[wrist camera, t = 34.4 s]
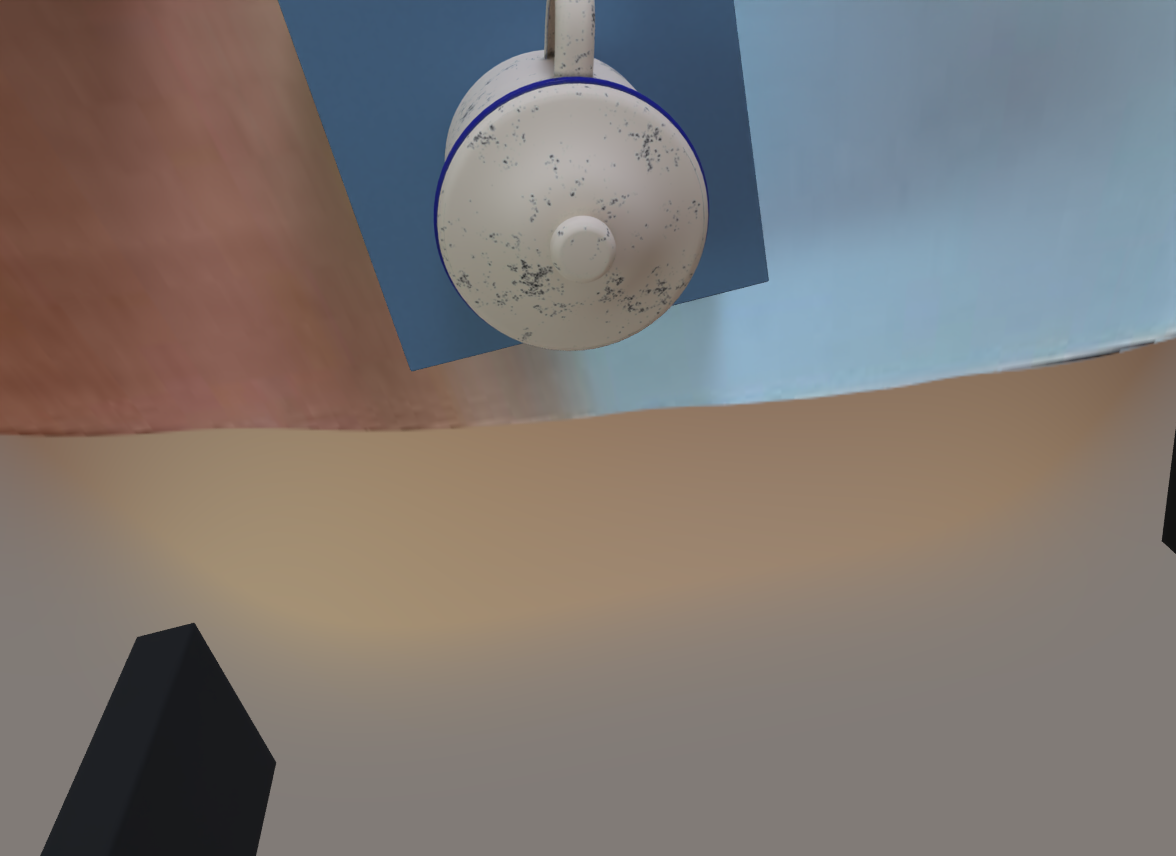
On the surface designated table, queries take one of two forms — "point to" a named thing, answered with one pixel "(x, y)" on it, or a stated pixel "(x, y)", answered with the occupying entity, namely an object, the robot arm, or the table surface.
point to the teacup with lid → (568, 196)
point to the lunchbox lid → (436, 88)
